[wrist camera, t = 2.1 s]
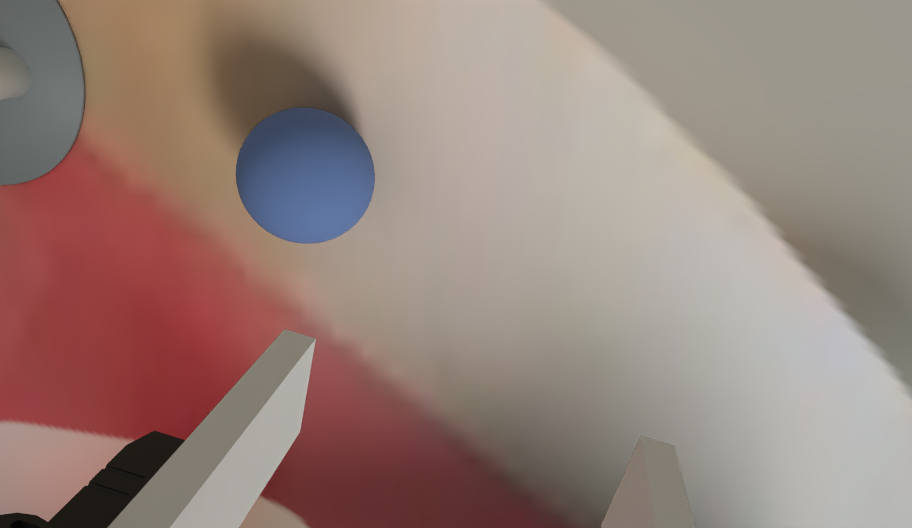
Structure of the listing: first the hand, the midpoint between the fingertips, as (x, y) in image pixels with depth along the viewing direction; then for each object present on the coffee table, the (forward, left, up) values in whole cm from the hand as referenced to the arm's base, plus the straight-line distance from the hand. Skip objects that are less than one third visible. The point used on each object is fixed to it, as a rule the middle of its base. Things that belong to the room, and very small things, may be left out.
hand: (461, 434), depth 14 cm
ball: (+10, 0, -14) cm, 17 cm away
